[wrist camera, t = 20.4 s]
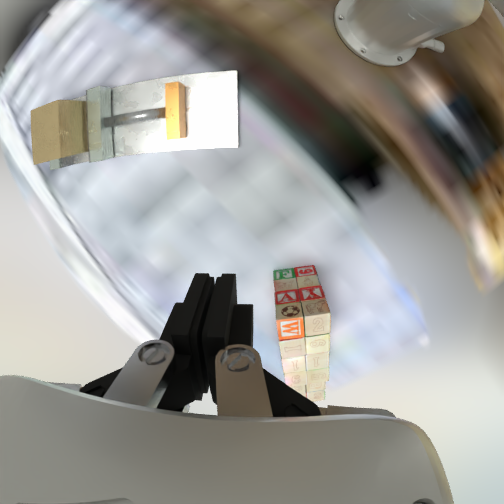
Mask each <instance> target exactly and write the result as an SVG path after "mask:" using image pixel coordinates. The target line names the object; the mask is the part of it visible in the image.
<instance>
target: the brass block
mask: <svg viewBox="0 0 504 504" xmlns="http://www.w3.org/2000/svg"><path fill="white" fill-rule="evenodd" d="M31 136H32V151H33V162H34V165H35V164H39V163H43V162H47V161H51V160H55V159H59V158H63V157H67V156H71V155H75V154H80V153H84V152H88V140H87V120H86V101H76V100H56V101H54V102H51V103H48V104H46V105H43V106H41V107H38V108H36V109H34V110H31Z"/></svg>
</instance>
